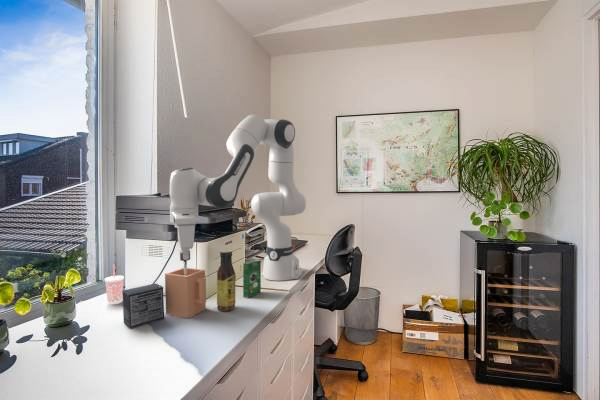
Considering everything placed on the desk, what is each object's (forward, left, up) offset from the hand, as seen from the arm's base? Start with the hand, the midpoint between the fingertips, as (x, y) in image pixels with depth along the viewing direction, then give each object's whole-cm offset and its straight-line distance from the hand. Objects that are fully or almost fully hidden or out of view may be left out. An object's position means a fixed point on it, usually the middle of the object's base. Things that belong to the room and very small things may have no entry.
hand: (185, 257), depth 111 cm
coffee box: (-23, +12, -19) cm, 32 cm away
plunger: (0, 0, -14) cm, 14 cm away
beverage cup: (+3, -30, -19) cm, 35 cm away
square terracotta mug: (0, +1, -18) cm, 18 cm away
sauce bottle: (-7, +11, -19) cm, 23 cm away
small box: (+11, -7, -19) cm, 23 cm away
